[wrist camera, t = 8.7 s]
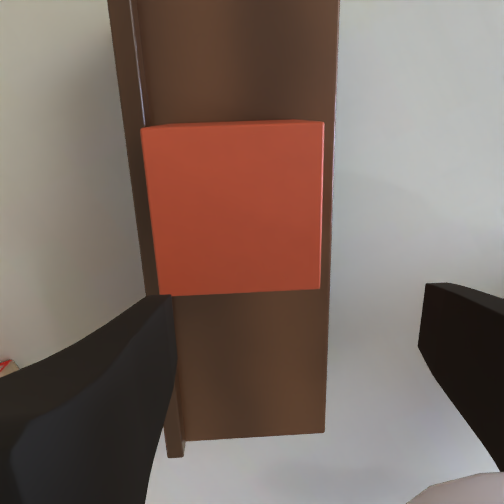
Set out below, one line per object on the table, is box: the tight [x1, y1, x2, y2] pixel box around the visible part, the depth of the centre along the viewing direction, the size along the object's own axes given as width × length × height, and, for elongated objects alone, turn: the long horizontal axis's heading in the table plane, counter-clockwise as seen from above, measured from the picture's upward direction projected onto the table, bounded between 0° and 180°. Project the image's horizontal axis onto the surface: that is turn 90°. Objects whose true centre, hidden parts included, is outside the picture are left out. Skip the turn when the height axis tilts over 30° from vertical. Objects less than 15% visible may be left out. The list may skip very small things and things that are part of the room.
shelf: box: [107, 0, 340, 458], centre depth 19 cm, size 8×20×5 cm, turn 2°
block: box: [140, 119, 324, 296], centre depth 14 cm, size 5×5×5 cm
